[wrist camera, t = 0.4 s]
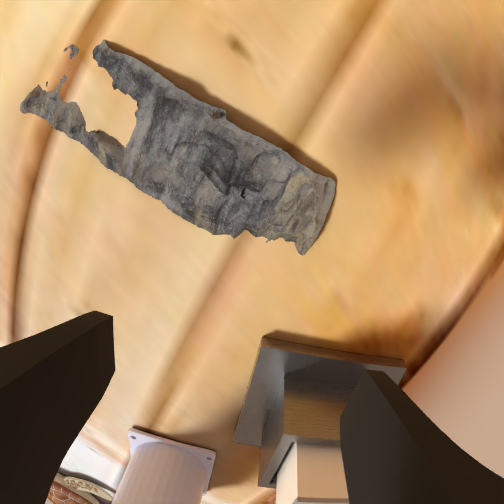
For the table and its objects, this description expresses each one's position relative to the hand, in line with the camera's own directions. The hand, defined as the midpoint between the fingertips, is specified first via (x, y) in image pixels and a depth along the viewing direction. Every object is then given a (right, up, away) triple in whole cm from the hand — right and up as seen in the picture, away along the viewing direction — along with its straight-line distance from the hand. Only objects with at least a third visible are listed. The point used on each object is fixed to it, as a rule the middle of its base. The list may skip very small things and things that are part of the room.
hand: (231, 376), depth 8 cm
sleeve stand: (+5, -8, +13) cm, 16 cm away
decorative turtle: (-26, -31, +24) cm, 47 cm away
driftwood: (-4, +10, +8) cm, 14 cm away
